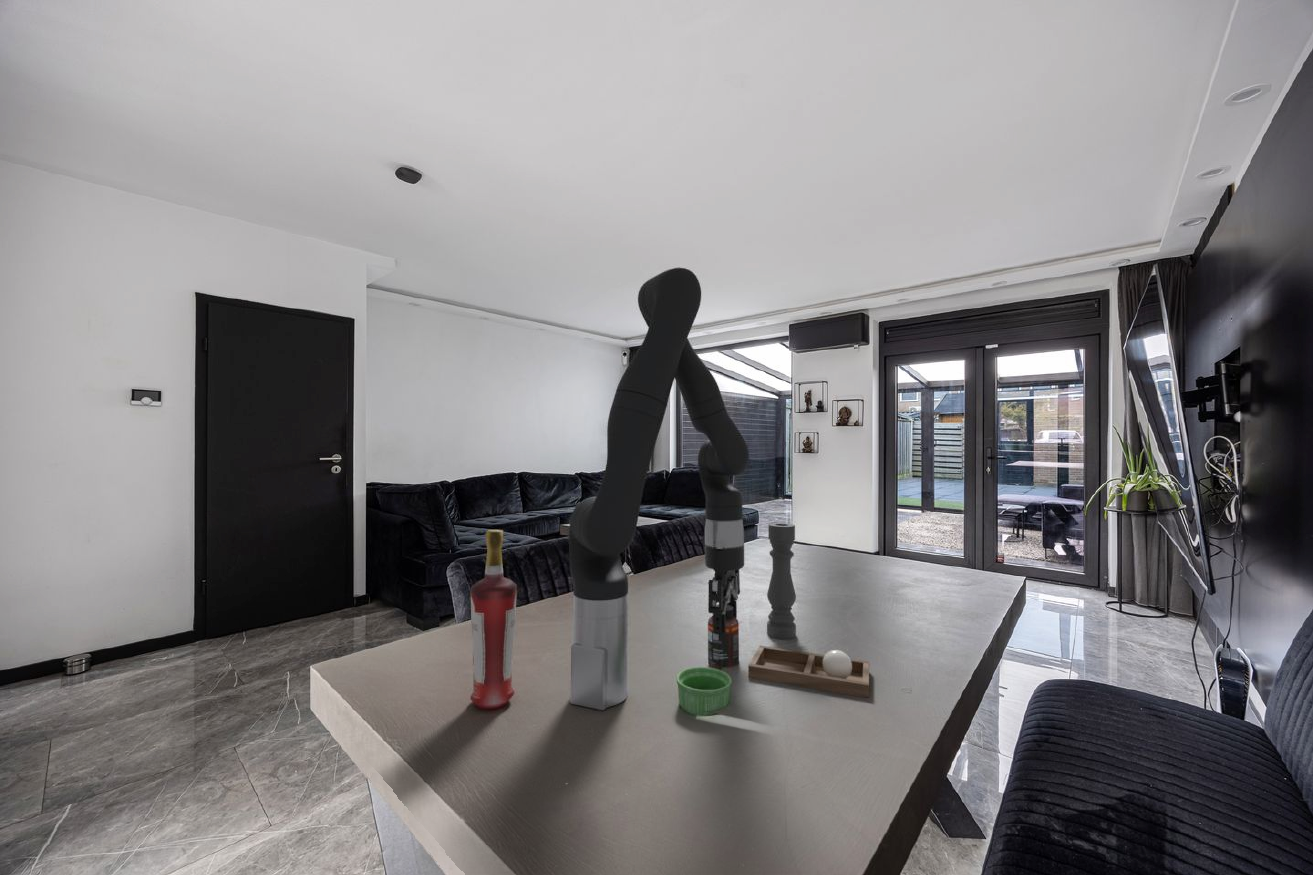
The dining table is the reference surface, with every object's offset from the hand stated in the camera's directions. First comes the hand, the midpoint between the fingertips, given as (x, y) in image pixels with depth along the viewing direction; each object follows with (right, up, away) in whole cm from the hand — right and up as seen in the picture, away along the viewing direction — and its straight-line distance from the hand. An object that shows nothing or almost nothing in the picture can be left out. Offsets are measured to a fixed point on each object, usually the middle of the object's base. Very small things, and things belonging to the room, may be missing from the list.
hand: (725, 626), depth 102 cm
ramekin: (-6, -8, -15) cm, 18 cm away
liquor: (-40, -7, -15) cm, 44 cm away
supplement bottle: (0, -8, 0) cm, 8 cm away
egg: (+19, -7, -8) cm, 21 cm away
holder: (+14, -8, -6) cm, 17 cm away
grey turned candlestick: (+14, -8, +14) cm, 22 cm away
